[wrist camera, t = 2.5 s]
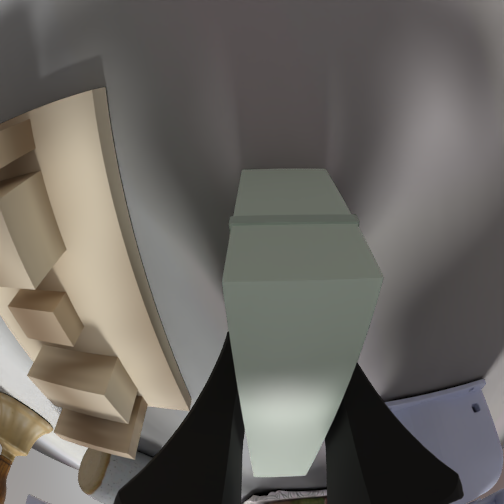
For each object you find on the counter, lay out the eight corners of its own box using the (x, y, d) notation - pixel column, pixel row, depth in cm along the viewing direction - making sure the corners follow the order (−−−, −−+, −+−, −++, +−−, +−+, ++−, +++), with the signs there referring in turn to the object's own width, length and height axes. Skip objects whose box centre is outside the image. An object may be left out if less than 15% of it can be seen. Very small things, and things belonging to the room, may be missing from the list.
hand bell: (20, 418, 26) (-8, 509, 13) (-14, 383, 22) (-53, 487, 8) (64, 436, 26) (38, 539, 13) (29, 403, 21) (-10, 525, 8)
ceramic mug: (109, 430, 21) (91, 502, 15) (181, 460, 24) (172, 525, 18) (77, 437, 26) (62, 490, 19) (135, 464, 29) (125, 514, 22)
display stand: (105, 86, 7) (-7, 120, 3) (191, 399, 16) (180, 468, 12) (-55, 154, 7) (-119, 199, 4) (57, 377, 16) (36, 430, 13)
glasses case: (326, 166, 8) (387, 274, 4) (301, 391, 15) (306, 475, 11) (240, 167, 8) (217, 279, 4) (255, 392, 15) (252, 477, 11)
